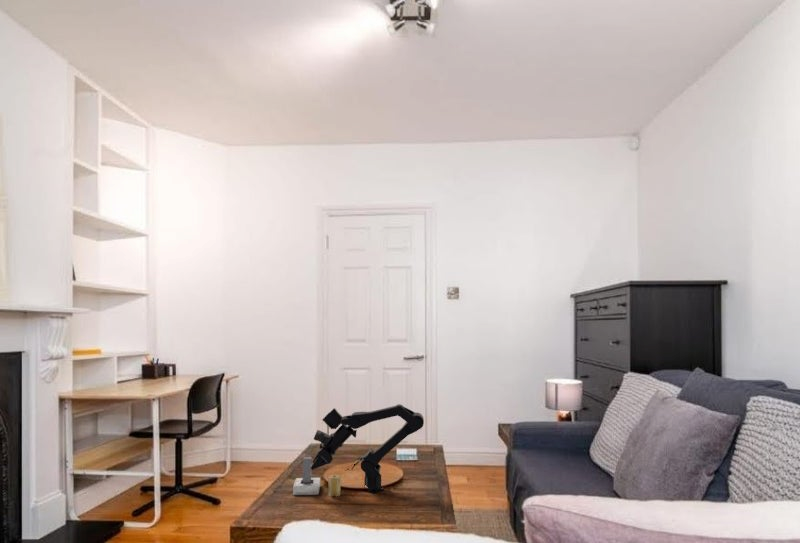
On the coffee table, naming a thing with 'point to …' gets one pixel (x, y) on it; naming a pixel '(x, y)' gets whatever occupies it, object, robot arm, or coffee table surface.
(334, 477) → the cross bit
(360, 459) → the tactical tomahawk
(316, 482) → the bore block
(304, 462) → the square bit
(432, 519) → the coffee table surface
